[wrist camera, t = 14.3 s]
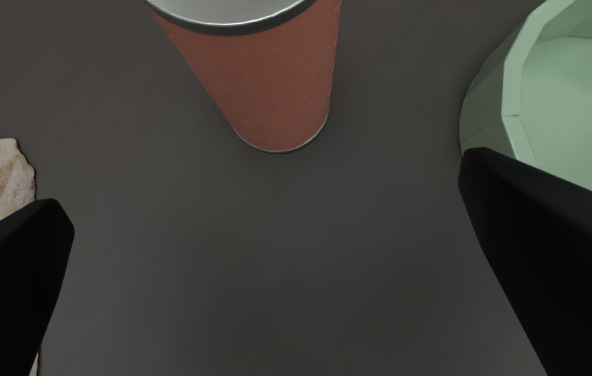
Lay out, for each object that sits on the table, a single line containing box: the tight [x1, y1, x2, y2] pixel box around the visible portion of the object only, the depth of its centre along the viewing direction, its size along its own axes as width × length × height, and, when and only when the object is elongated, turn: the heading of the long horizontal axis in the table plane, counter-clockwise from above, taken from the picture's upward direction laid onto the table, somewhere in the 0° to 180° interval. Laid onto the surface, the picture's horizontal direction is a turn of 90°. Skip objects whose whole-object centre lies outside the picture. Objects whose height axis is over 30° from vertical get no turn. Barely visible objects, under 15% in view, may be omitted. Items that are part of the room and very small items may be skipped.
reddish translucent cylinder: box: [142, 0, 342, 154], centre depth 16 cm, size 6×6×13 cm
